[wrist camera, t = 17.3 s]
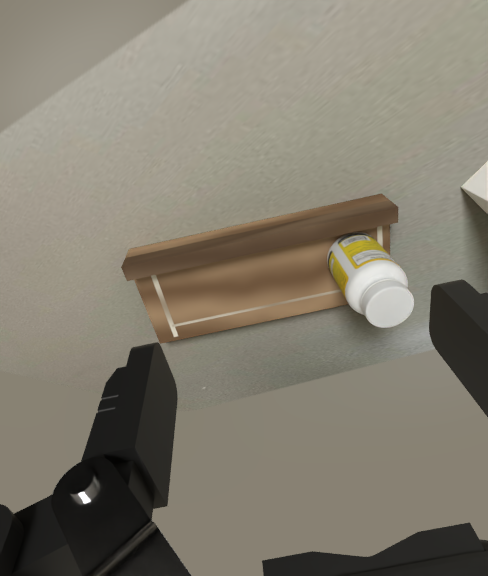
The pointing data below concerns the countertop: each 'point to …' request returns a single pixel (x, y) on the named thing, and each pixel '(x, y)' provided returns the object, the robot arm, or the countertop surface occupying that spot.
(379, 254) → the supplement bottle
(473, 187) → the milk
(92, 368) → the countertop surface
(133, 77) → the countertop surface
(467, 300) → the robot arm
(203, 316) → the board
